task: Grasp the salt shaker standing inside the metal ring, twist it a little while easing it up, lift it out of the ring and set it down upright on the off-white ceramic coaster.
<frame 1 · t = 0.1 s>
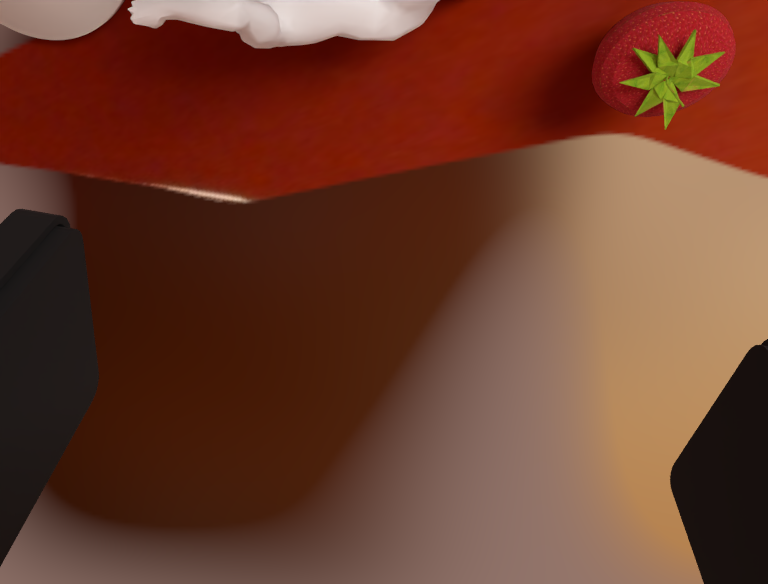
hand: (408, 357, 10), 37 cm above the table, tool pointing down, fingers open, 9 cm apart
strawberry: (636, 31, 42), on the table
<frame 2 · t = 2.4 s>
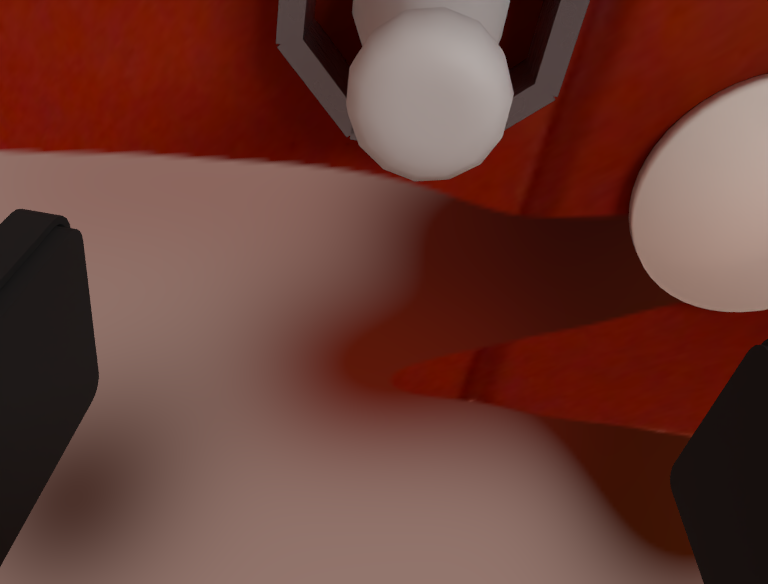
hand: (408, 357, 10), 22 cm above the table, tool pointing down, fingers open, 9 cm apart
ceramic coaster: (762, 197, 31), on the table
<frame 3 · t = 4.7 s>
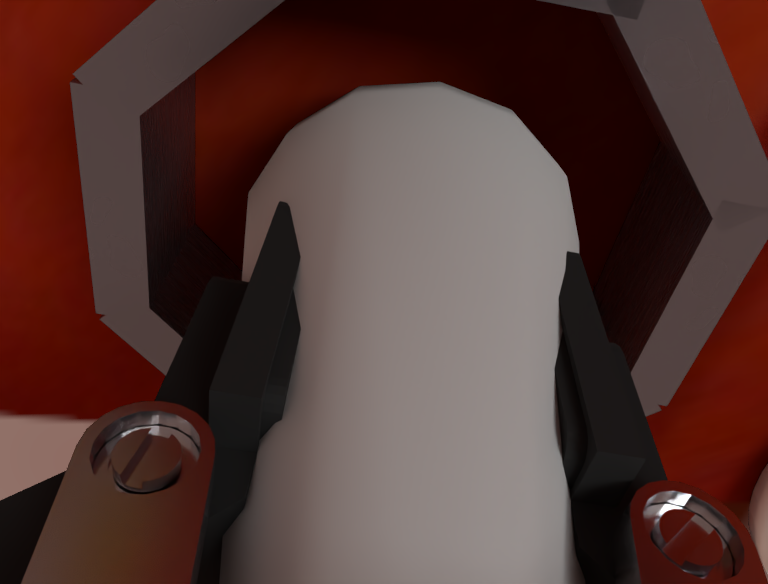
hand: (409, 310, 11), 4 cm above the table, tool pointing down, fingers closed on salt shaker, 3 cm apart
metal ring: (413, 184, 14), on the table
salt shaker: (412, 180, 14), resting in metal ring, touching gripper
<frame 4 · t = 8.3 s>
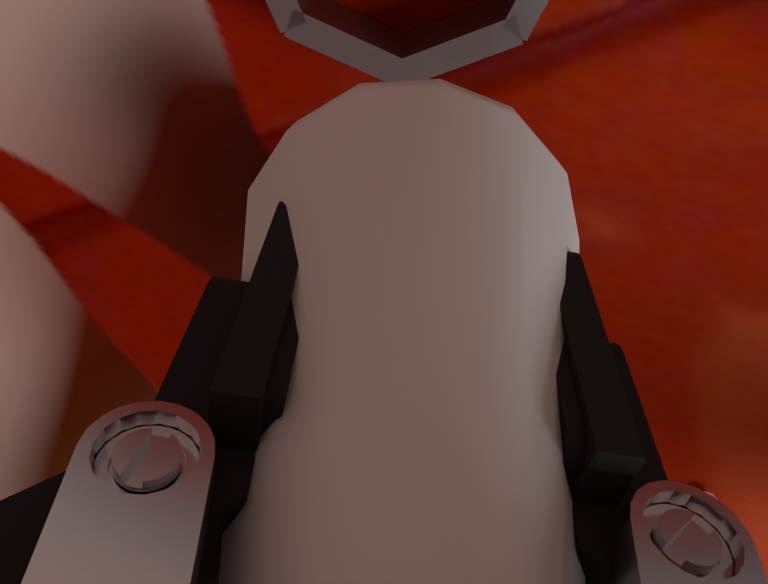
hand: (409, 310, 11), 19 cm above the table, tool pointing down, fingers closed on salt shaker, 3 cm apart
salt shaker: (412, 178, 14), point 14 cm above the table, touching gripper
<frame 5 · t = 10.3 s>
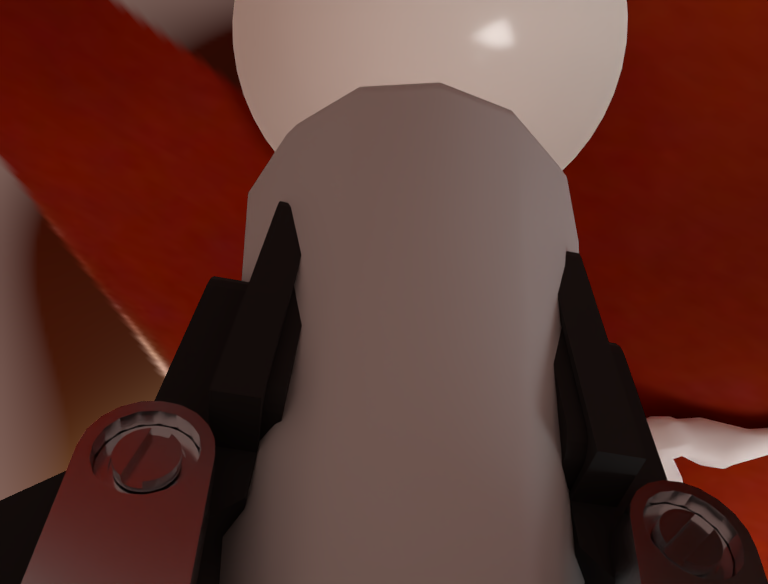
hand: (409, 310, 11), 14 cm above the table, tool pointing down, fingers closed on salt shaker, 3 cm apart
person figurine: (620, 447, 33), on the table
ceramic coaster: (426, 47, 22), on the table
salt shaker: (412, 180, 14), point 9 cm above the table, touching gripper
when the fingers open (6 cm above the table, at t = 11.8 s): salt shaker moves 1 cm, resting on ceramic coaster.
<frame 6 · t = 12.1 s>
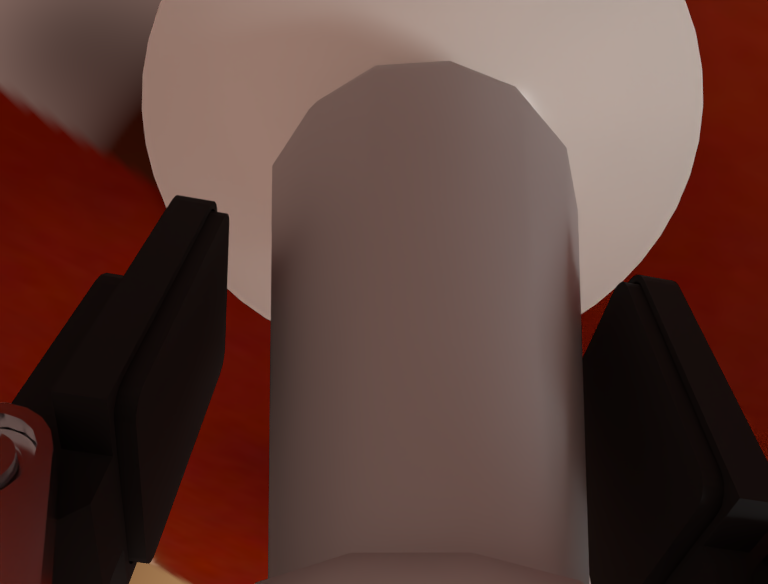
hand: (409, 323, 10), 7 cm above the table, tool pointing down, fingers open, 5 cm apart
ceramic coaster: (416, 140, 16), on the table
salt shaker: (421, 157, 15), point 1 cm above the table, touching ceramic coaster
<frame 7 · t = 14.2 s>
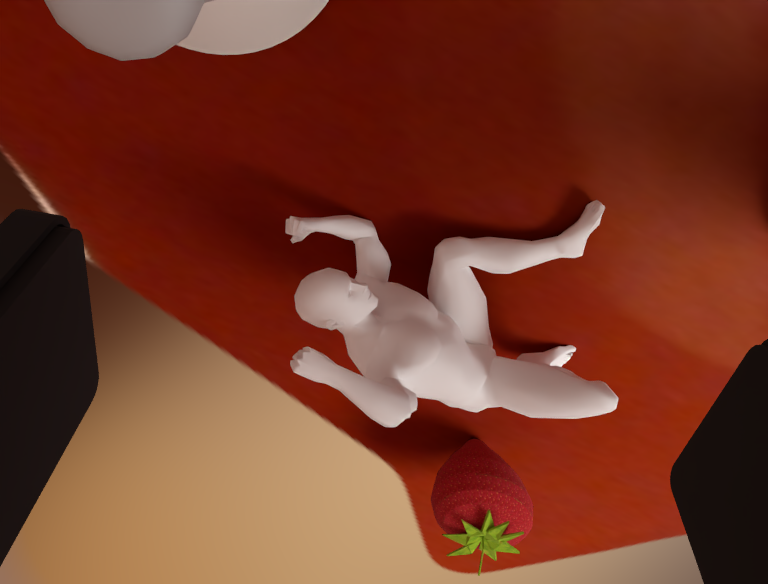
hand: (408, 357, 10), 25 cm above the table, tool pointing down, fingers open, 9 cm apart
person figurine: (445, 277, 41), on the table
strawberry: (474, 440, 49), on the table
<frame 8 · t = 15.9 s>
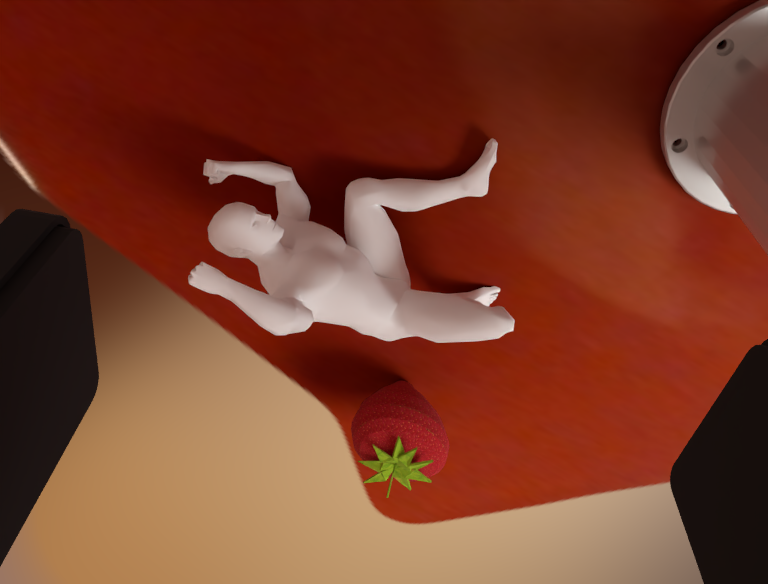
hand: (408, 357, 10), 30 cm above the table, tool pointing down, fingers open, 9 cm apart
person figurine: (368, 221, 44), on the table
strawberry: (403, 383, 52), on the table
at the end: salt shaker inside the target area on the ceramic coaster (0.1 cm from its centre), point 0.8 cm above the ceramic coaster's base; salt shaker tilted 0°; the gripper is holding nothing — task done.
